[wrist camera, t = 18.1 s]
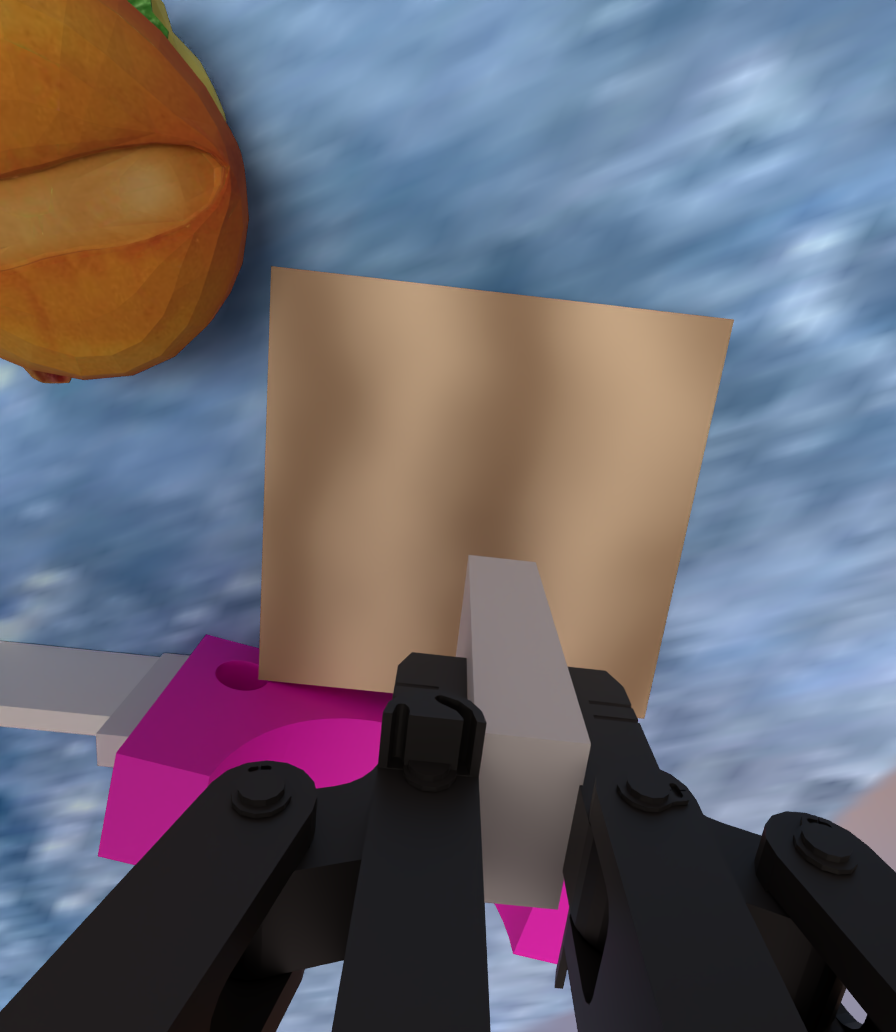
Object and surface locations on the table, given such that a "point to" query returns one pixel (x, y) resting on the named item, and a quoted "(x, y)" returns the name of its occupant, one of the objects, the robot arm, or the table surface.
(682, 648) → the table surface
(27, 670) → the grey bracket pieces
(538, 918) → the toy block
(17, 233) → the cheeseburger
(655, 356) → the board
